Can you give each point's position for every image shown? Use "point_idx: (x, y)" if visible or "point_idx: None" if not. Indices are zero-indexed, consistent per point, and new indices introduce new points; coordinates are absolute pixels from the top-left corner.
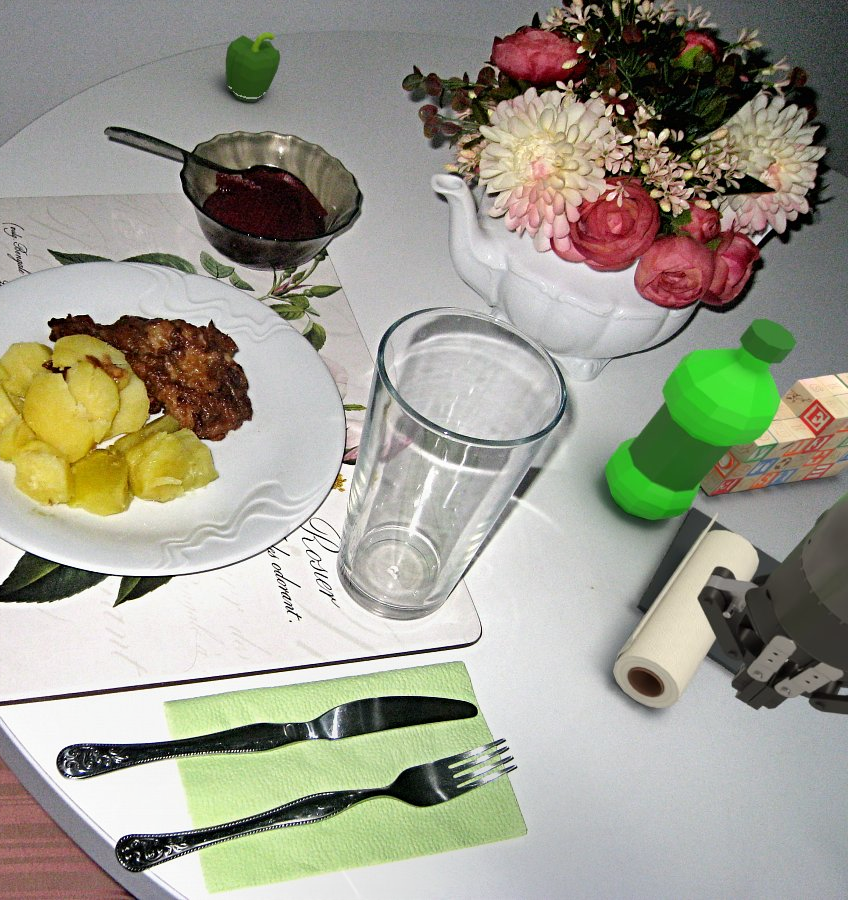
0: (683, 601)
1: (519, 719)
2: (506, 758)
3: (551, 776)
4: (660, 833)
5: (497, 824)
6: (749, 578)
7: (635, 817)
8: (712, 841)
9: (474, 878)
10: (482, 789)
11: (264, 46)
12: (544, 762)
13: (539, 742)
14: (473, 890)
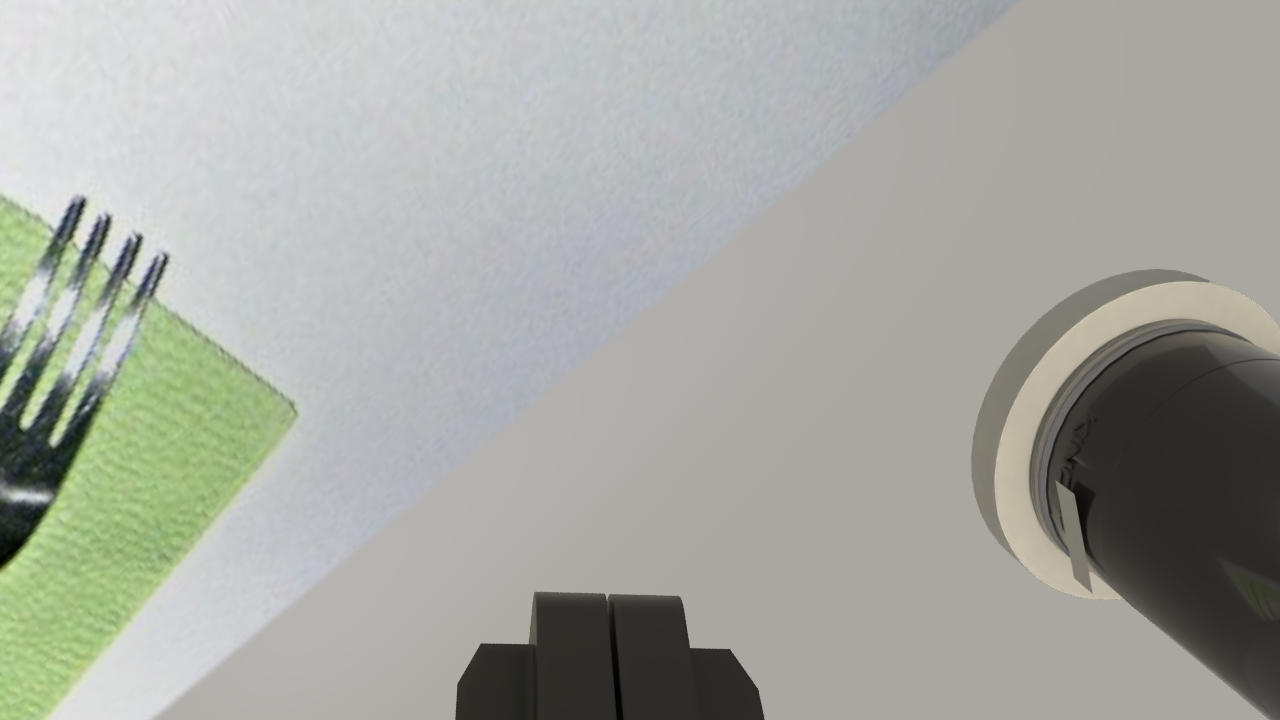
0: None
1: (80, 91)
2: (124, 255)
3: (275, 204)
4: (630, 130)
5: (215, 452)
6: None
7: (550, 137)
8: (772, 40)
9: (241, 609)
10: (120, 397)
11: None
12: (233, 176)
13: (184, 122)
14: (255, 633)
